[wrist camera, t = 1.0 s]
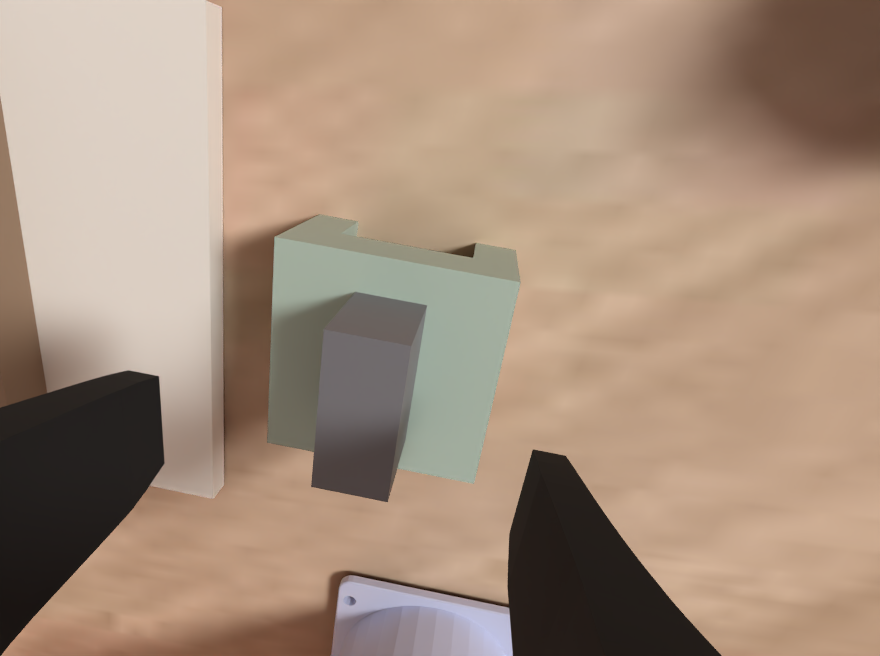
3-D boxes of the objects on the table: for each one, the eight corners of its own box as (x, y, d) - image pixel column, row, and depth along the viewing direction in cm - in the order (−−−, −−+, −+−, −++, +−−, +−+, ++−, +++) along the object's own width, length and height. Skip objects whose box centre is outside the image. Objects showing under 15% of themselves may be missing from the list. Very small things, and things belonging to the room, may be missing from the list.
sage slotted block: (477, 419, 17) (469, 552, 12) (307, 386, 18) (223, 502, 12) (515, 249, 15) (526, 319, 10) (320, 214, 15) (223, 263, 10)
